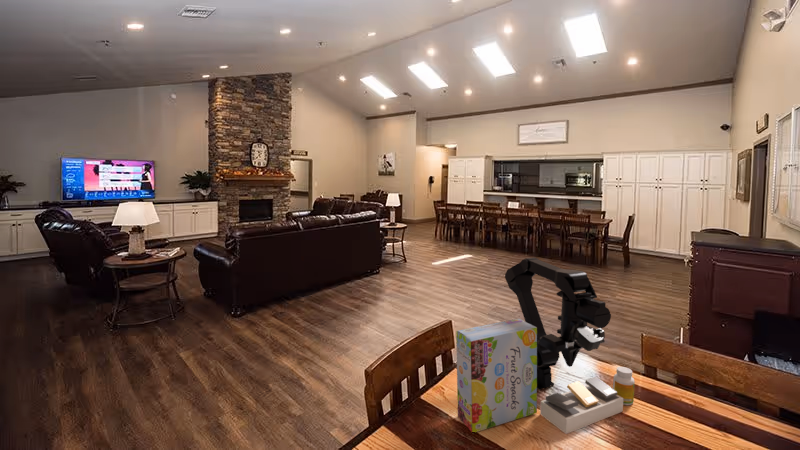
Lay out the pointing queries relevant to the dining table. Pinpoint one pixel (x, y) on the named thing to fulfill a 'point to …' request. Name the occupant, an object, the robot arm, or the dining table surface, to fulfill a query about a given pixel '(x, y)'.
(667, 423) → the dining table surface
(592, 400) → the rocker middle
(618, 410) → the rocker switch box
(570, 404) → the block
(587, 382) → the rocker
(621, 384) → the supplement bottle
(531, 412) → the snack box
